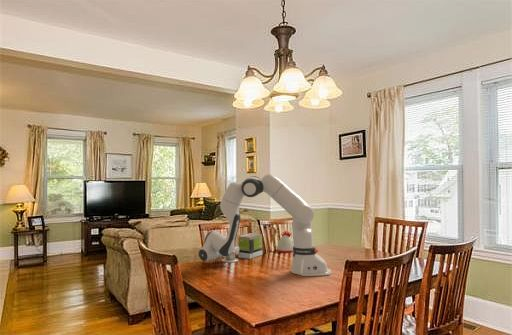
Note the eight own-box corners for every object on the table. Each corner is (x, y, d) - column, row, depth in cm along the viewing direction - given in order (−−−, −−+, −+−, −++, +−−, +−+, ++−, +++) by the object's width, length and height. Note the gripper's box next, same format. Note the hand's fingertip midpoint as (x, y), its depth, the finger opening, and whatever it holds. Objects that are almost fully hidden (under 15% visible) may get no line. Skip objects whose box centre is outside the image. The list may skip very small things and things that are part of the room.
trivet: (239, 258, 228) (239, 257, 228) (237, 262, 217) (237, 261, 218) (223, 258, 229) (223, 257, 229) (220, 262, 218) (220, 261, 218)
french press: (231, 260, 219) (231, 236, 220) (223, 259, 222) (223, 235, 223) (238, 258, 226) (237, 234, 227) (230, 257, 229) (230, 233, 230)
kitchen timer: (290, 253, 244) (289, 232, 245) (273, 251, 251) (273, 231, 252) (298, 250, 256) (298, 230, 256) (282, 248, 263) (282, 228, 264)
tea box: (251, 253, 245) (251, 232, 246) (262, 255, 239) (262, 233, 240) (237, 257, 233) (237, 235, 234) (249, 259, 227) (249, 236, 228)
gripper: (232, 246, 207) (244, 243, 220) (205, 243, 217) (218, 240, 229) (232, 257, 207) (244, 253, 219) (205, 254, 217) (218, 250, 229)
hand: (230, 246), depth 224 cm, fingers open, 6 cm apart
